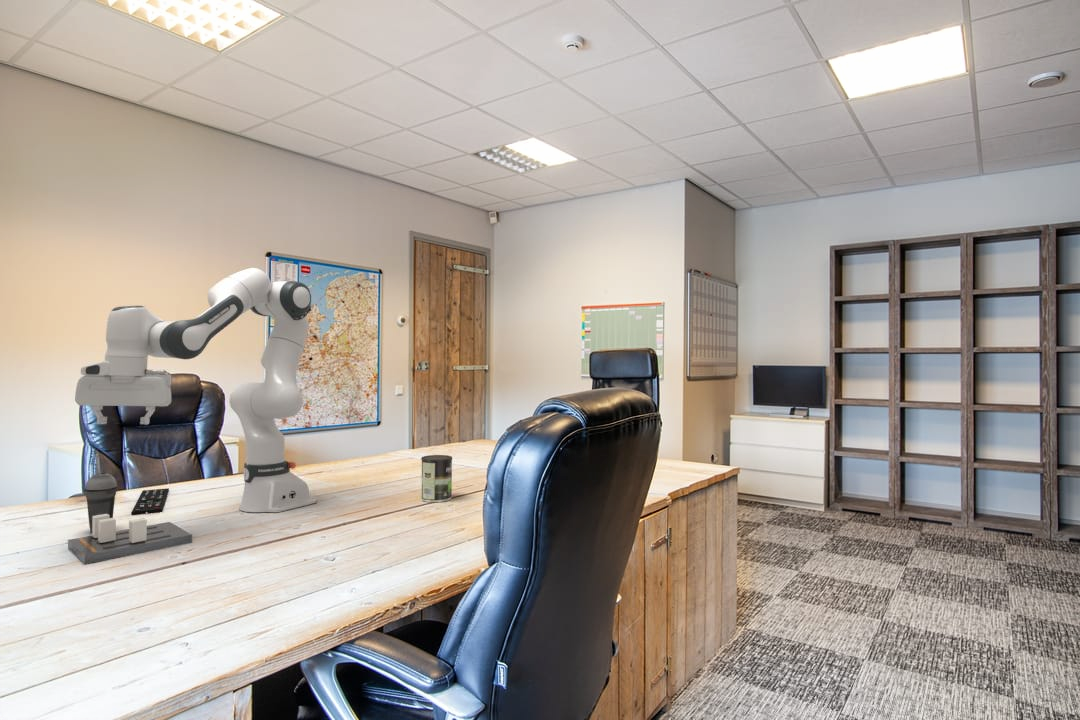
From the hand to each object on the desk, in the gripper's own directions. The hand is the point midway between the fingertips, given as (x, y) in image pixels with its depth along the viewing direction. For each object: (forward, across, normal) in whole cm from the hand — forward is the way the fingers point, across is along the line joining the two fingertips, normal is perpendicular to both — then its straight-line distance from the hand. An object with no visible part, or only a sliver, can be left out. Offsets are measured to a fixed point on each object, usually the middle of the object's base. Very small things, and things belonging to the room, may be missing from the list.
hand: (123, 424), depth 148 cm
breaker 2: (+28, +1, +4) cm, 28 cm away
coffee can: (+28, -81, -33) cm, 91 cm away
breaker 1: (+28, +4, -1) cm, 28 cm away
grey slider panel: (+30, -3, +1) cm, 30 cm away
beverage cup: (+30, +10, -14) cm, 35 cm away
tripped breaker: (+28, -6, +5) cm, 29 cm away
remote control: (+30, +9, -46) cm, 56 cm away
